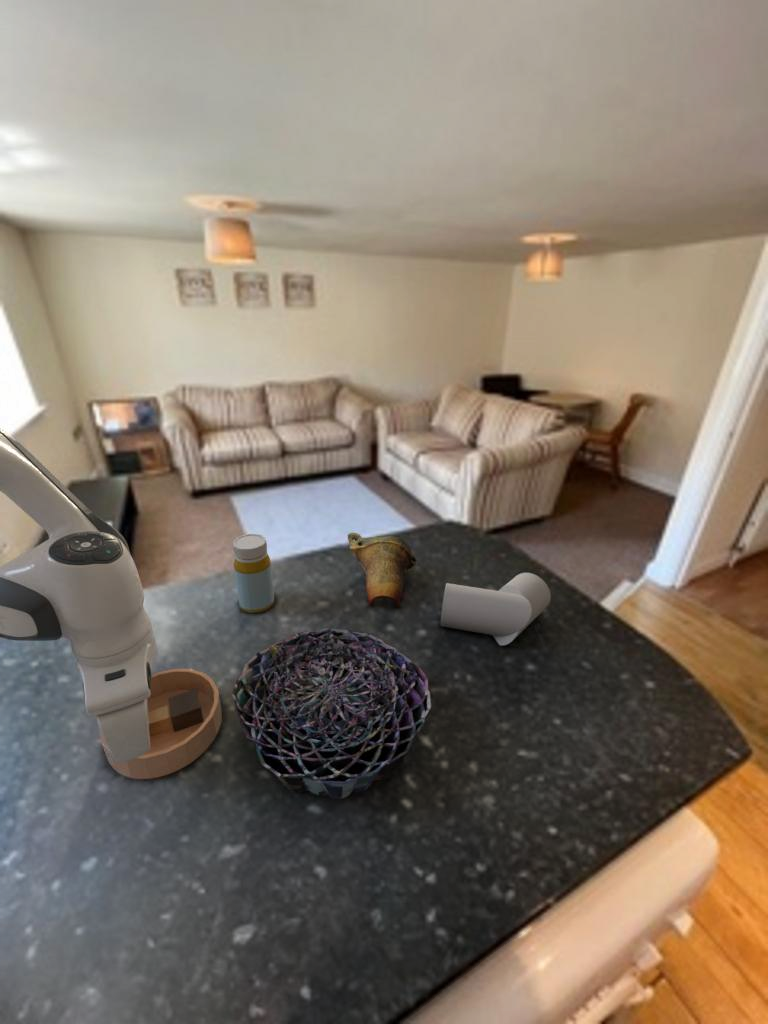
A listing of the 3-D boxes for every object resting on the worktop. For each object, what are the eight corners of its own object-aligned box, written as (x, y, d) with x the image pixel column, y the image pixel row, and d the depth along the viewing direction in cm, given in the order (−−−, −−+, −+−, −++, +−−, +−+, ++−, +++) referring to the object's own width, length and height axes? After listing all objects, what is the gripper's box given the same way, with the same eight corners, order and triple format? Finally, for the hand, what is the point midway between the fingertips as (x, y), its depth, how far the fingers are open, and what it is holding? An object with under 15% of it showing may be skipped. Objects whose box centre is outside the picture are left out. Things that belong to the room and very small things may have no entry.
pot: (348, 578, 86) (356, 513, 99) (332, 609, 94) (341, 545, 107) (430, 599, 90) (427, 534, 103) (408, 627, 97) (408, 563, 110)
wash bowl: (84, 781, 58) (74, 758, 56) (139, 689, 72) (133, 668, 70) (201, 781, 59) (196, 758, 57) (234, 689, 73) (231, 669, 71)
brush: (127, 749, 62) (122, 734, 61) (127, 727, 65) (122, 712, 64) (203, 722, 66) (200, 707, 65) (199, 702, 69) (196, 688, 68)
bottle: (277, 610, 91) (270, 546, 84) (241, 618, 89) (232, 553, 82) (271, 591, 97) (265, 530, 90) (238, 598, 94) (229, 535, 88)
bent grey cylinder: (507, 669, 76) (558, 616, 89) (504, 615, 73) (556, 568, 86) (426, 638, 88) (481, 595, 102) (420, 590, 85) (478, 553, 99)
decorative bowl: (328, 883, 50) (330, 836, 46) (199, 728, 65) (191, 681, 61) (452, 734, 68) (463, 689, 63) (328, 639, 83) (330, 597, 78)
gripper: (93, 612, 65) (115, 682, 71) (84, 719, 48) (113, 799, 54) (141, 600, 67) (159, 669, 73) (148, 698, 51) (170, 776, 57)
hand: (140, 725), depth 64 cm, fingers closed on brush, 2 cm apart
